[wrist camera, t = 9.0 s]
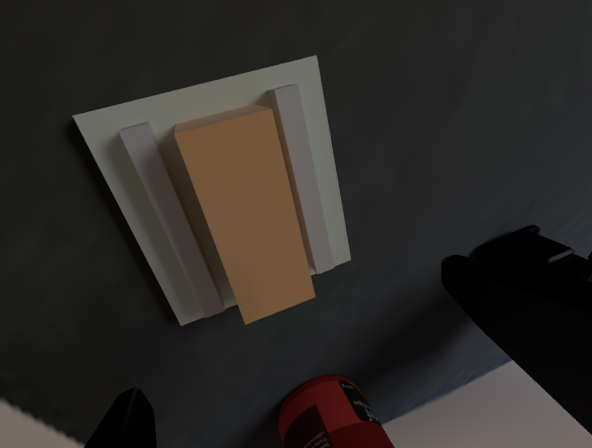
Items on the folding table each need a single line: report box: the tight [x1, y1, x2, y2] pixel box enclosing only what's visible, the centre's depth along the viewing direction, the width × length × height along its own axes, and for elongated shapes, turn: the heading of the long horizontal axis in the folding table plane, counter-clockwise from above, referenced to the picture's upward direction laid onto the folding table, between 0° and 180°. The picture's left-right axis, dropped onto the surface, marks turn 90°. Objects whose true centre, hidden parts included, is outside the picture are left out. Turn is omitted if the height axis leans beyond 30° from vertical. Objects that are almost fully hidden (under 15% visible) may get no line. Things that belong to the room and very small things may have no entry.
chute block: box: [174, 104, 315, 325], centre depth 17 cm, size 10×4×4 cm, turn 13°
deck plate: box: [73, 55, 351, 326], centre depth 18 cm, size 13×12×2 cm
